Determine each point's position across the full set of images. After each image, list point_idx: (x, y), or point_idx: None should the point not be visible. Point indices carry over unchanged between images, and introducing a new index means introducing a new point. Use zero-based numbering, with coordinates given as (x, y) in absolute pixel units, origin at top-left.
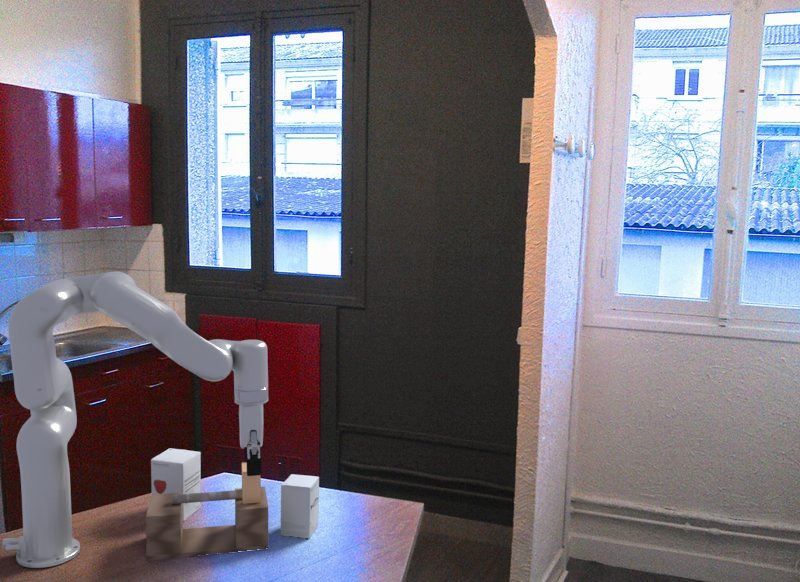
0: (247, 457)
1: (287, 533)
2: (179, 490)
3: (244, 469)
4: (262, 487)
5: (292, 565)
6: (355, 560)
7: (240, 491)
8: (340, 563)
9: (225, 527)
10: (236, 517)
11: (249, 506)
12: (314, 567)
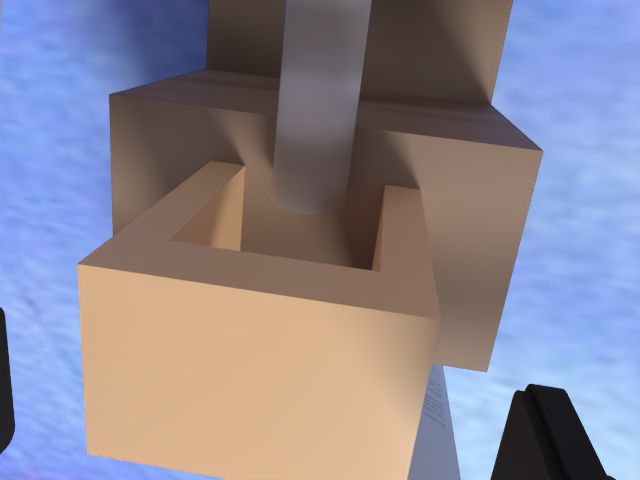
0: (520, 429)
1: None
2: None
3: (161, 302)
4: (477, 353)
5: (54, 276)
6: (60, 476)
7: (290, 175)
8: (46, 429)
9: (477, 43)
10: (133, 88)
11: (151, 199)
12: (29, 344)
